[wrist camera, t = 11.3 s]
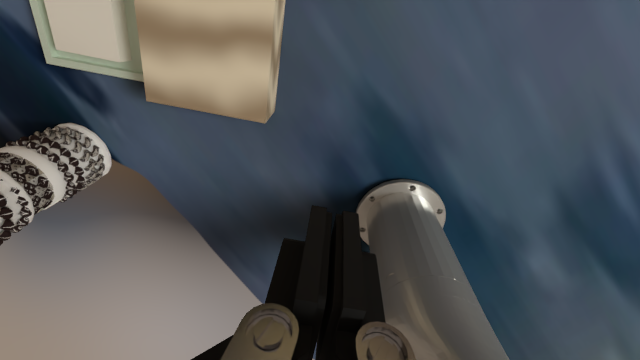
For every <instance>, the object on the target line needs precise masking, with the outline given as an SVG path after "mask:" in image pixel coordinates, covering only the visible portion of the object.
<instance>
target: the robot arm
mask: <svg viewBox="0 0 640 360" xmlns="http://www.w3.org/2000/svg"><path fill="white" fill-rule="evenodd" d="M371 196H373V197H371ZM445 218H446V212H445V207H444V204H443V202H442V200H441V198H440V197H439V195H438V194H437V193H436V192H435V191H434V190H433V189H432V188H431V187H429V186H428V185H426V184H424V183H421V182H419V181H414V180H408V179H399V180H391V181H388V182H384V183H382V184H380V185H378V186H376V187H374V188H373V189H371V190H370V191H369V192H368V193H367V194H365V195H364V196H363V198H362V199H361V201H360V202H359V204H358V207H357V209H356V213H353V212H347V211H343V212H342V215H341V214H336V218H335V222H334V227H333V231H332V235H331V223H332V213H330V212H327V208H324V207H319V206H313V205H312V208H311V214H310V219H309V225H308V230H307V236H306V241H305V242H304V241H299V240H293V239H287V238H284V239H283V242H282V246H281V249H280V253H279V256H278V260H277V263H276V267H275V270H274V273H273V277H272V280H271V284H270V287H269V291H268V294H267V298H266V301H265V304H261V305H259V306H256V307H254V308H253V309H251V310H250V311H249V312H247V313H246V315H245V316H244V318H243V319H242V320H241V322H240V324H239V326H238V328H237V330H236V332H235V333H234V335H232V336H231V337H229V338H227V339H226V340H224V341H222V342H221V343H219V344H217V345H216V346H214V347H212V348H210V349H208V350H207V351H205V352H203V353H202V354H200V355H198V356H196V357H195V358H193V359H191V360H312V358H313V354H314V350H315V346H316V342H317V348H316V360H509V358H508V356H507V355H506V353H505V351H504V350H503V348H502V346H501V344H500V343H499V341H498V339H497V337H496V335H495V333H494V331H493V330H492V328H491V326H490V324H489V322H488V320H487V318H486V316H485V314H484V312H483V310H482V308H481V306H480V304H479V302H478V300H477V298H476V296H475V294H474V292H473V290H472V288H471V286H470V284H469V282H468V280H467V278H466V276H465V274H464V272H463V270H462V268H461V265H460V263H459V261H458V259H457V257H456V255H455V253H454V251H453V249H452V247H451V245H450V243H449V241H448V239H447V237H446V235H445V233H444V231H443V226H444V223H445ZM360 237H361V238H362V239H363V241H364V242H366V243H367V244H368V245H369V248H370V253H368V252H362V251H361V239H360ZM330 238H331V240H330Z"/></svg>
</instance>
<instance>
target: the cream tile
mask: <svg viewBox="0 0 640 360" xmlns="http://www.w3.org/2000/svg"><path fill="white" fill-rule="evenodd" d="M44 3H45V7H46V11H47V15H48V19H49V23H50V27H51V31H52V35H53V39H54V43H55V47H56V50H60V51H65V52H70V53H75V54H80V55H85V56H90V57H95V58H100V59H105V60H110V61H115V62H125V61H131V60H132V58H131V51H130V43H129V36H128V28H127V21H126V13H125V6H124V0H44Z"/></svg>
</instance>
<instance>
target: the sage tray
mask: <svg viewBox="0 0 640 360" xmlns="http://www.w3.org/2000/svg"><path fill="white" fill-rule="evenodd" d="M29 1H30V5H31V9H32V12H33V16H34V20H35V23H36V27H37V30H38V34H39V38H40V41H41V45H42V48H43V52H44V56H45V59H46V63H47V64H52V65H58V66H63V67H68V68H73V69H79V70H84V71H89V72H94V73H100V74H105V75H110V76H115V77H121V78H126V79H131V80H136V81H142V82H144V77H143V69H142V61H141V53H140V45H139V37H138V29H137V21H136V13H135V5H134V0H124V6H125V13H126V21H127V28H128V36H129V43H130V51H131V58H132V60H131V61H125V62H115V61H110V60H105V59H100V58H95V57H90V56H85V55H80V54H75V53H70V52H65V51H60V50H56V47H55V43H54V39H53V35H52V31H51V27H50V23H49V19H48V15H47V11H46V7H45V3H44V0H29Z"/></svg>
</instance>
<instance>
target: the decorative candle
mask: <svg viewBox="0 0 640 360" xmlns="http://www.w3.org/2000/svg"><path fill="white" fill-rule="evenodd" d="M34 134H35V135H31V136H29V137H21V138H20V140H17V141H16V142H13V141H9V142H7V143H6V147H1V148H0V245H1V244H2V243H3V241H5V240H8V239H10V237H11V233H12V232H14V233H16V232H19V231H20V230H21V229H22V227H24V226H26V225H28V223H30V222H31V221H32V219H33V216H34V215H35V214H36V213H38V212H40V211H41V210H46V209H47V208H49V207H50V206H52V205H54V204H55V203H57V202H65V201H66V200H67V198H70V197H72V196H73V195H75V194H76V193H77V191H81V190H82V189H85V188H87V187H88V186H89V185H91V184H92V183H94V182H96V181H97V180H98V179H100V178H101V177H102V176H104V175H105V174H107V173H108V172H109V170H110V167H111V165H112V163H111V154H110V152H109V150H108V148H107V146H106V144H105V143H104V142H103V141H102V140H101V139H100V138H99V137H98V136H97V135H96V134H95V133H94V132H92V131H90V130H89V129H87V128H86V127H84V126H81V125H77V124H74V123H65V124H59V125H57V126H56V127H55V128H53V129H51V128H46V130H44V133H40V132H38V131H37V132H35V133H34Z"/></svg>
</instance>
